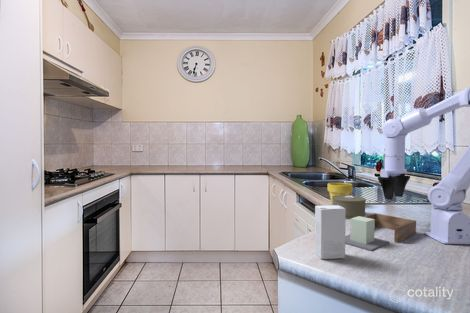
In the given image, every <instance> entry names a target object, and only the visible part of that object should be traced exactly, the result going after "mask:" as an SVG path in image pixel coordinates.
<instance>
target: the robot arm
mask: <svg viewBox="0 0 470 313" xmlns="http://www.w3.org/2000/svg"><path fill="white" fill-rule="evenodd" d="M464 107H466V108H469V107H470V86H468V87H466V88H465V89H463V90H461V91H459V92H457V93H455V94H453V95H451V96H450V97H447V98H446V99H444V100H441V101H439V102H437V103H435V104H434V105H432V106H430V107H428V108H424V107H413V108H411V111H410V112H408V113H406V114H403V115H399V116H397V117H396V118H395V119H394V118H389V119H388V120H386V121H385V122H384V123H383V125H382V126H381V131H382V134H383V135H384V136H385V139H384V142H385V143H384V168H383V169H382V168H381V169H380V176H378V177H377V181H378V182H379V184H380V186H381V189H382V192H383V197H384V199H385V200H389V201H390V200H393V198H394V196H395V197H397V198H402V197H403V196H404V194H405V190H406V186H407V184H408V182H409V180H411V176H410V175H407V171H408V170H407V168H405V165H406V163H405V162H406V161H405V159H406V158H405V155H406V153H405V152H406V138H407V136H408V134H410V133H411V132H414V131H417V130H419V129H422V128H424V127H427V126H428V125H430V124H431V123H432V120H433V119H434V118H437V117H440V116H442V115H445V114H448V113H450V112H452V111H455V110H458V109H460V108H464ZM469 188H470V144H469V145H468V147H467V148H466V150H465V151H464V152H463V153H462V155H461V156H460V158H459V159H458V161H457V162H456V163H455V165H454V166H453V167H452V169H451V170H450V172H449V173H448V174H446V176H444V177H442V179H440V181H439V182H438V183H437V184H435V185H433V186H432V187H431V188H430V189H429V190H428V192H427V199H428V201H429V203H431V204H430V205H431V208H430V231H424V232H423V234H424V235H426V236H428V237H430V238H432V239H434V240H436V241H437V242H440V243H441V244H444V245H445V244H446V245H447V244H448V245H449V244H450V245H470V217H469V216H468V214H466V213H465V212H464V209H463V205H462V203H463V202H465V200H466V197H467V191H468V190H469Z"/></svg>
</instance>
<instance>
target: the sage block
mask: <svg viewBox="0 0 470 313" xmlns="http://www.w3.org/2000/svg"><path fill="white" fill-rule="evenodd" d="M375 227H376V226H375V219H371V218H366V217H361V216H358V217H354V218H351V219H350V232H349V233H350V234H349V235H350V240H352V241H356V242H360V243H363V244H368V243H370V242H373V241H374V238H375Z"/></svg>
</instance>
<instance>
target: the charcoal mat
mask: <svg viewBox="0 0 470 313" xmlns="http://www.w3.org/2000/svg"><path fill="white" fill-rule="evenodd" d="M389 243H390V241H388V240H385V239H380V238H378V237H377V238H376V237H374V241H373V242H370V243H368V244H363V243H360V242H356V241H352V240H350V234H347V235H345V245H349V246H351V247H356V248H359V249H362V250H367V251H369V252H372V251H375V250H376V249H379V248H381V247H383V246H385V245H387V244H389Z"/></svg>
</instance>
